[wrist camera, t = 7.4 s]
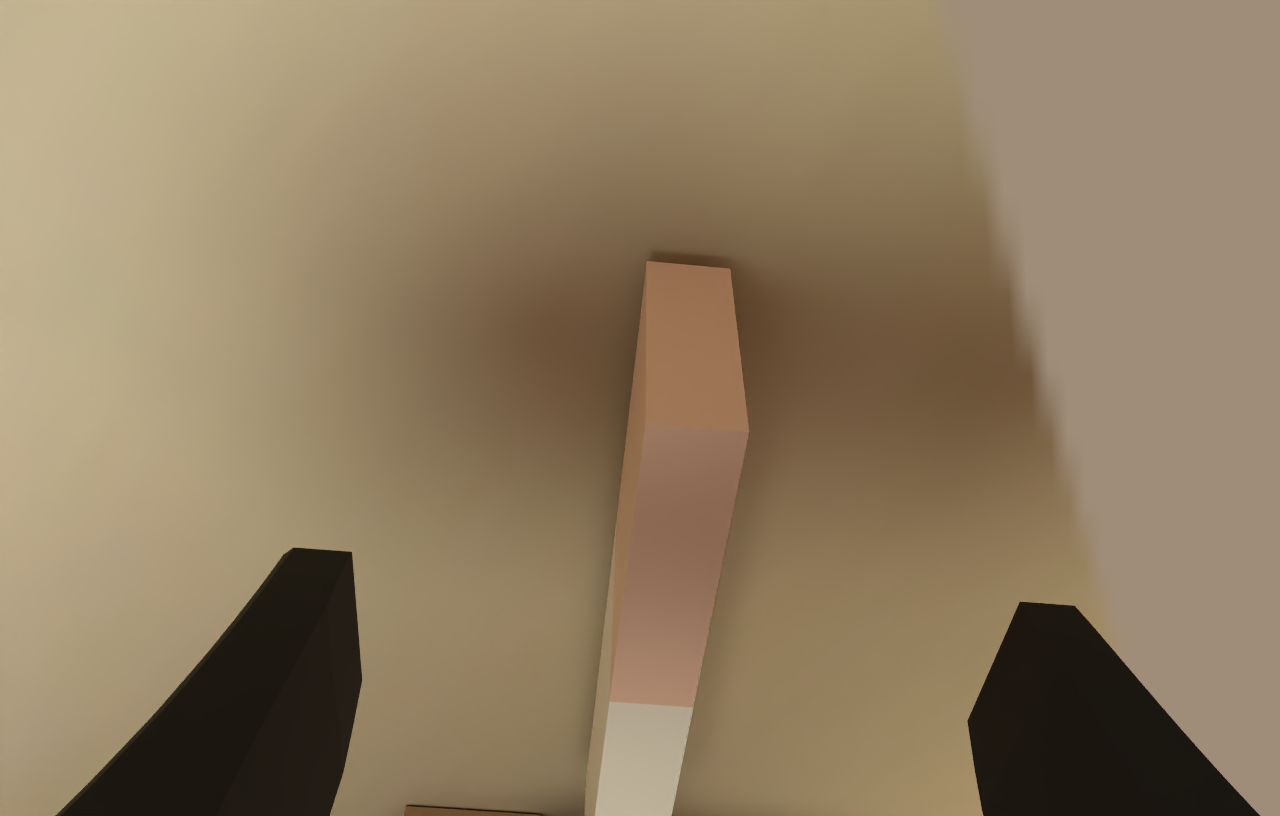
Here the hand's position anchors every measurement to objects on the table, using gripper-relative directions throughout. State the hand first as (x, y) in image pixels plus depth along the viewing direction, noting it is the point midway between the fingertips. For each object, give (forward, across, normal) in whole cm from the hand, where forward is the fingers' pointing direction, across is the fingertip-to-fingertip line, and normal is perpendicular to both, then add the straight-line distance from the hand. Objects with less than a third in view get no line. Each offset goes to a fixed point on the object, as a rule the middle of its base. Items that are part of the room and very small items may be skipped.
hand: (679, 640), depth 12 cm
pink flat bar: (+6, 0, +5) cm, 7 cm away
